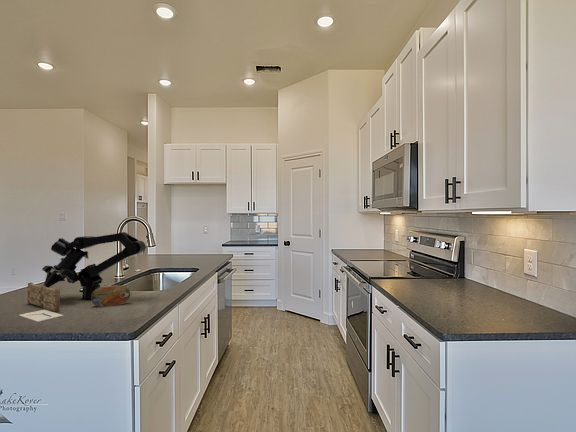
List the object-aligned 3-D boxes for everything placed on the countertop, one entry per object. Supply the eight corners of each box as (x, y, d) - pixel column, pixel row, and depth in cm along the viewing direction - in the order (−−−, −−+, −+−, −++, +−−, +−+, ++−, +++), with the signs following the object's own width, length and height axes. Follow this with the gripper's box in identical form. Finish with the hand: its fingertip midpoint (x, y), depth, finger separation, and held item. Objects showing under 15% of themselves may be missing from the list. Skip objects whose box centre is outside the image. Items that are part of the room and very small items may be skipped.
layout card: (63, 315, 133) (63, 314, 133) (37, 322, 125) (37, 320, 125) (44, 310, 140) (44, 309, 140) (19, 315, 132) (19, 314, 132)
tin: (90, 307, 145) (91, 287, 145) (91, 306, 148) (91, 286, 148) (130, 304, 152) (130, 285, 152) (129, 302, 155) (130, 283, 155)
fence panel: (44, 305, 145) (44, 285, 145) (38, 306, 143) (39, 286, 143) (31, 301, 150) (31, 282, 150) (26, 302, 149) (26, 283, 149)
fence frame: (60, 311, 139) (60, 289, 139) (55, 312, 137) (55, 289, 137) (44, 306, 145) (44, 285, 145) (39, 307, 143) (39, 286, 143)
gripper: (94, 273, 158) (69, 302, 149) (72, 269, 168) (47, 296, 159) (77, 257, 152) (49, 287, 142) (55, 254, 161) (27, 282, 152)
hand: (43, 288), depth 149 cm, fingers closed
